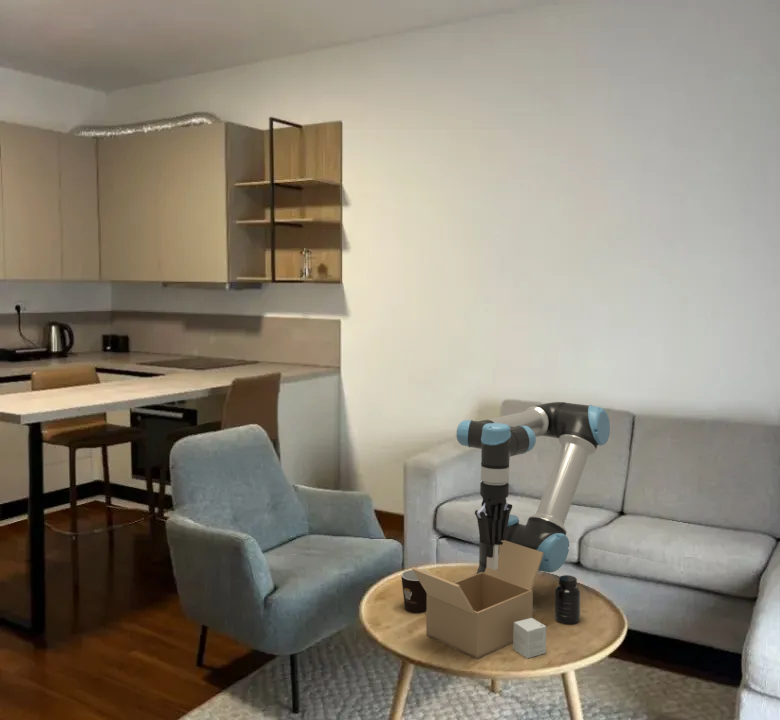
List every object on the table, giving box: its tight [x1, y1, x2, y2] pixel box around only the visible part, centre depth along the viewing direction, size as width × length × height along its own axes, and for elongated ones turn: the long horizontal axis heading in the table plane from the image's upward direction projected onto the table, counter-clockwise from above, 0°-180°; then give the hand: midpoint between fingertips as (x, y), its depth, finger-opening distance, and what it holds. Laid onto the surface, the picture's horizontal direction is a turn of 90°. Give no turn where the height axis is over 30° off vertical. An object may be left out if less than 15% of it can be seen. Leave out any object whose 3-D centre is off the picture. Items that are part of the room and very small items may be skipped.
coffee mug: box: [400, 569, 430, 614], centre depth 229 cm, size 12×9×10 cm
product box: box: [512, 617, 547, 659], centre depth 205 cm, size 6×6×7 cm
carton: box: [425, 572, 534, 660], centre depth 214 cm, size 22×18×12 cm
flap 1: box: [411, 566, 475, 614], centre depth 203 cm, size 10×16×1 cm
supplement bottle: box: [554, 574, 581, 625], centre depth 223 cm, size 7×7×12 cm
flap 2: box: [484, 540, 544, 590], centre depth 222 cm, size 10×16×1 cm
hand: (492, 567), depth 216 cm, fingers closed
